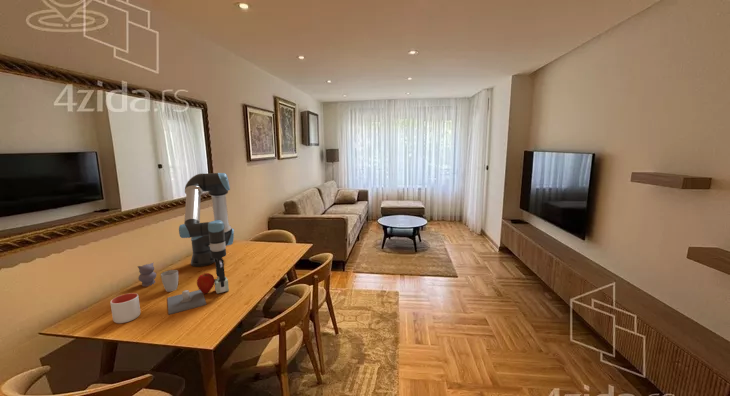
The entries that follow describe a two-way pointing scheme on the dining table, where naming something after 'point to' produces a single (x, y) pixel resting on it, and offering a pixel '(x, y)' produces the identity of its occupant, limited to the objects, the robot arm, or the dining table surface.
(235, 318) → the dining table surface
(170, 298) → the grey piece
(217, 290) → the pale green block
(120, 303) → the cup
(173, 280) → the cup
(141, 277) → the cat figurine
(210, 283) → the apple
